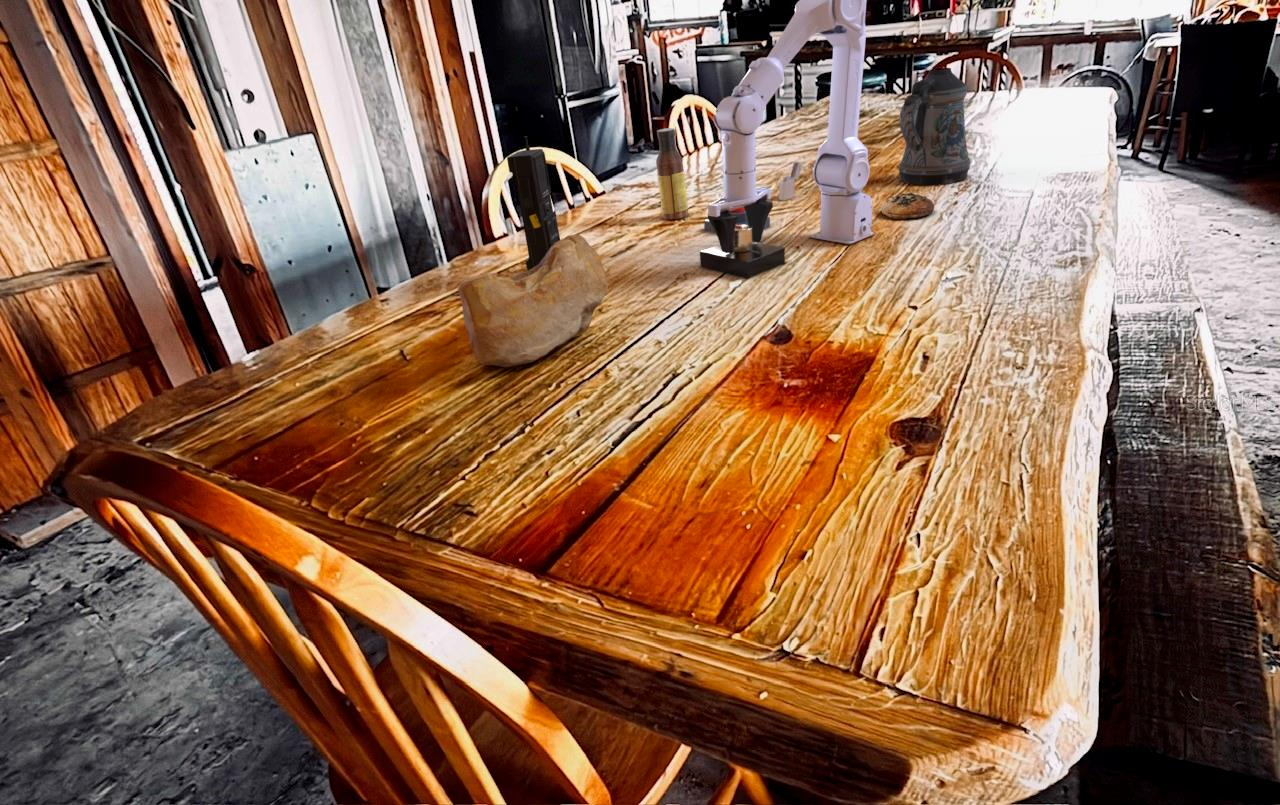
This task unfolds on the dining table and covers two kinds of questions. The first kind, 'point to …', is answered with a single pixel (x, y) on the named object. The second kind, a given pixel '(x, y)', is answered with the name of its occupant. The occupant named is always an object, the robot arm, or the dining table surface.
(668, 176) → the sauce bottle
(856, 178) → the robot arm
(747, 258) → the dial panel
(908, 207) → the bread roll
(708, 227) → the button box
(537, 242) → the portable radio
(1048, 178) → the dining table surface
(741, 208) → the power button
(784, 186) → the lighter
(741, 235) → the dial
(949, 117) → the beer stein
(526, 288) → the rough brown rock
